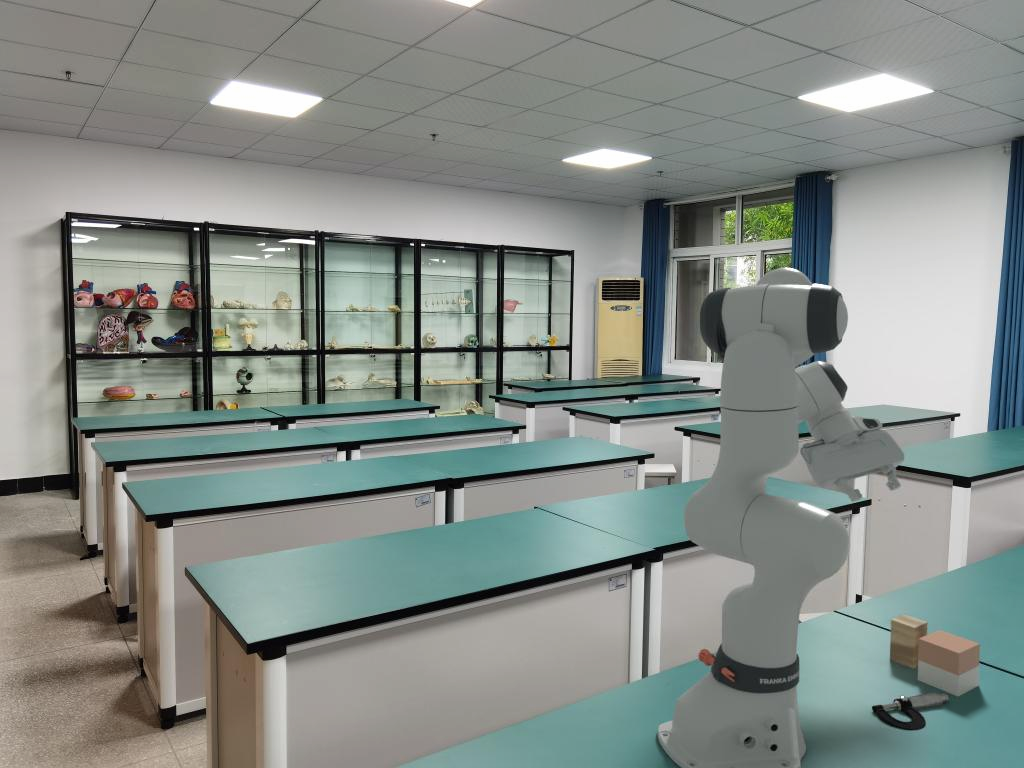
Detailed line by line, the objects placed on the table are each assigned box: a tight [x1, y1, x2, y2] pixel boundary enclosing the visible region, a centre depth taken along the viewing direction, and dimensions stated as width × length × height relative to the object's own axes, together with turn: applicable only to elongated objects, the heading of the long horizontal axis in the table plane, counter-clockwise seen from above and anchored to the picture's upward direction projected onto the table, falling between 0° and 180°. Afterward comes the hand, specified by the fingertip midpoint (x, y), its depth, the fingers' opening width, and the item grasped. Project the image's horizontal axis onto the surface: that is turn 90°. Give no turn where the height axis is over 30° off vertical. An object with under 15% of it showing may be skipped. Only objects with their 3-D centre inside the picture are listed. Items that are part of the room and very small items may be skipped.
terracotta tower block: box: [918, 629, 981, 675], centre depth 129 cm, size 7×7×4 cm
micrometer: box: [871, 692, 950, 731], centre depth 119 cm, size 15×7×2 cm, turn 103°
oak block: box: [889, 614, 929, 669], centre depth 138 cm, size 4×4×8 cm
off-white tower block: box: [917, 660, 980, 697], centre depth 129 cm, size 7×7×4 cm
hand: (877, 494), depth 140 cm, fingers open, 8 cm apart
